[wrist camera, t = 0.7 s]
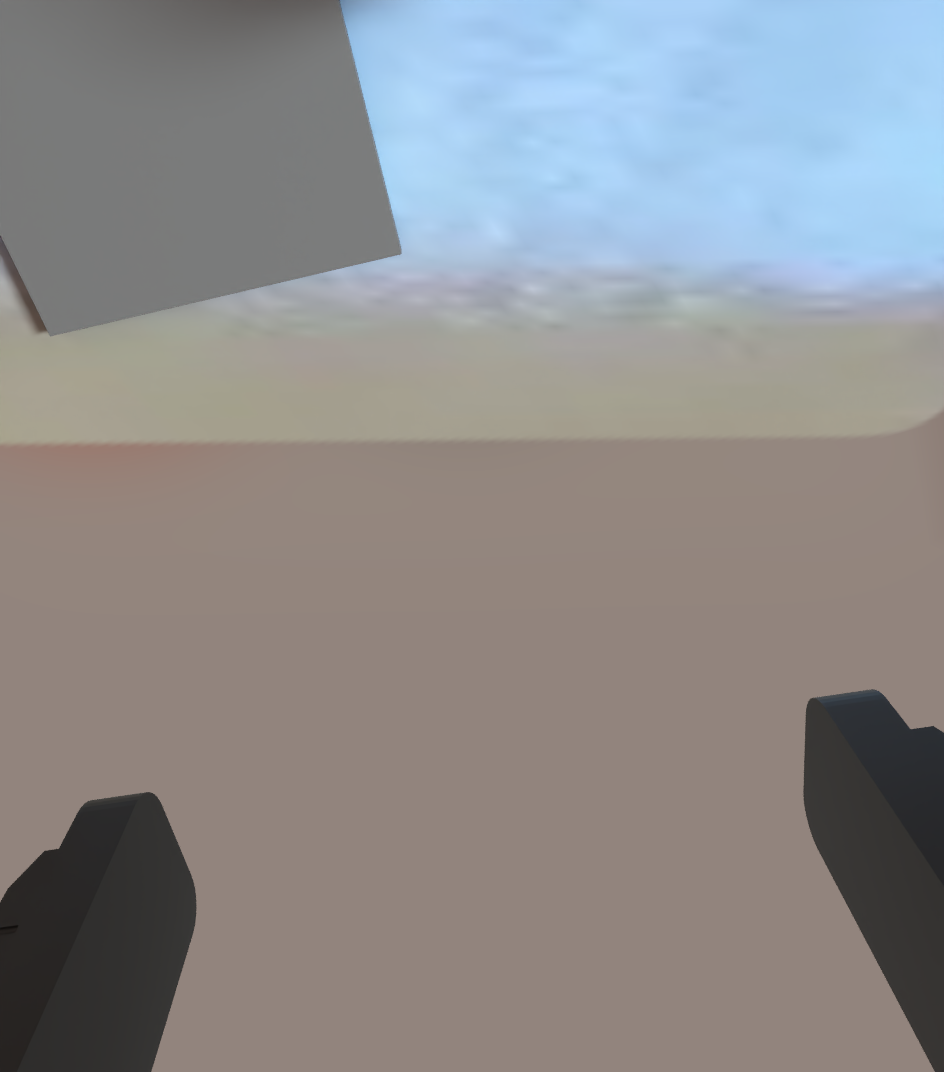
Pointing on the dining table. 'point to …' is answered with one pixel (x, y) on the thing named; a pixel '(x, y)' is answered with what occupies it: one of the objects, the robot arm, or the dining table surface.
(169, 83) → the mat
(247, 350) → the dining table surface
